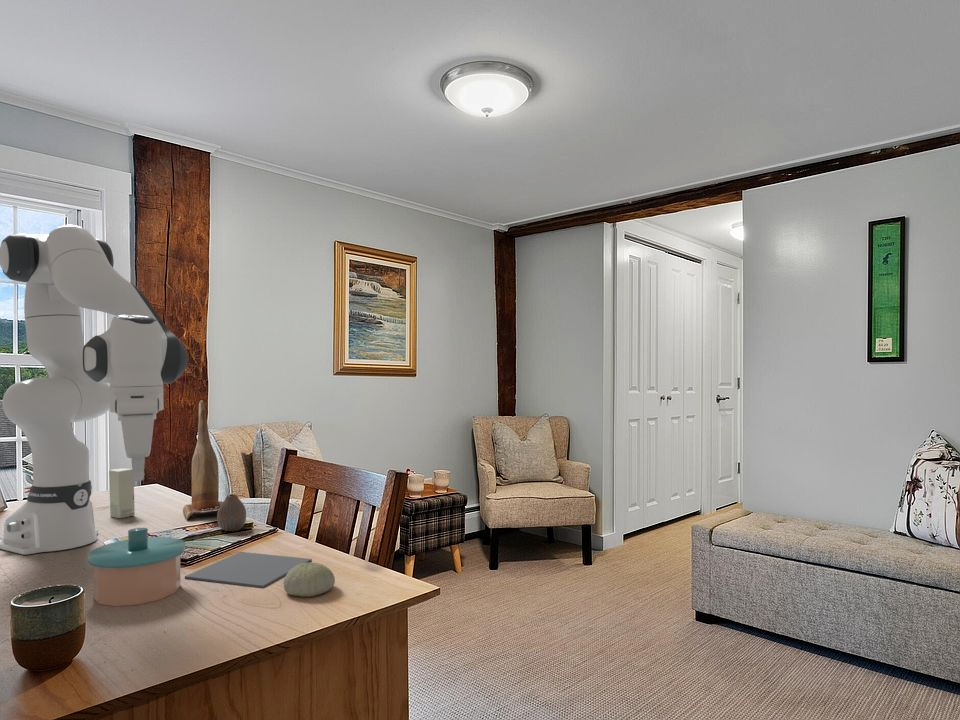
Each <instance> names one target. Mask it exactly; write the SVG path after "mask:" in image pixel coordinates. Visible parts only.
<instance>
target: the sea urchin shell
mask: <svg viewBox="0 0 960 720" xmlns="http://www.w3.org/2000/svg"><path fill="white" fill-rule="evenodd" d="M335 583H336V579H335V575H334V574H333V571H332V570H331V569H330V568H329V567H327V566H326V565H324V564H323V563H318V562H312V561H310V562H309V563H301V564H298V565H296V566H294V567H293V568H292V569H291V570H290V571H289V572H288V573H287V575H285V576H284V580H283V589H284V591H285V592H286V594H288V595H290V596H295V597H302V598H305V597H307V598H311V596H312V597H315V596H321V594H324V593H327V592H328V591H331V589H332V588H333V586H335Z"/></svg>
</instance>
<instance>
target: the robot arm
mask: <svg viewBox="0 0 960 720" xmlns="http://www.w3.org/2000/svg"><path fill="white" fill-rule="evenodd" d="M0 243H1V244H0V268H1V269H2V273H3V274H4V275H5V276H6V277H7V278H8V279H9V280H11V281H15V282H21V283H25V289H24V298H23V299H24V301H23V302H24V305H23V307H24V309H23V310H24V311H23V312H24V323H25V335H26V336H25V337H26V342H27V343H26V345H27V351H28V354H30V356H31V357H32V358H34V359H36V360H37V361H38V362H40V363H41V365H42V366H43V367H44V369H45V370H46V373H47V375H48V377H34V378H30V379H25V380H22V381H18V382H15V383H14V384H11V385H10V386H9V387H8V388H7V389H6V391H5V392H4V394H3V397H2V410H3V412H4V415H5V417H6V418H7V419H8V420H9V421H10V422H11V423H12V424H14V425H15V426H17V427H18V428H19V429H20V430H21V431H22V433H23V434H24V436H25V438H26V440H27V443H28V444H29V448H30V453H31V456H32V457H31V459H32V485H31V486H28V487H24V490H25V491H24V492H23V493H24V494H28V495H27V498H26V502H24V504H22V505H21V506H20V507H19V508H18V509H16V510H15V511H14V512H12V513H11V514H10V515H9V516H8V517H7V518H6V519H5V521H4V524H3V526H4V527H3V536H1V537H0V550H4V551H8V552H12V553H15V554H20V555H32V554H39V553H44V552H45V553H47V552H57V551H62V550H63V551H64V550H69V549H75V548H79V547H83V546H86V545H89V544H92V543H93V542H96V541H97V539H98V534H99V529H98V528H96V524H95V514H94V506H93V502H92V500H91V496H92V489H93V488H92V487H93V485H92V481H91V479H90V451H89V448H88V446H87V445H86V444H85V443H83V442H82V441H80V440H79V439H77V437H76V435H75V433H74V431H73V430H74V429H73V427H72V424H73V423H80V422H87V421H90V420H92V419H93V420H94V419H96V418H98V417H100V416H103V415H105V414H106V413H108V411H109V412H110V413H113V414H116V415H117V421H118V422H120V424H121V430H122V437H123V444H124V446H123V447H124V451H125V455H126V458H128V459H130V460H131V467H132V468H131V469H132V471H133V480H134V482H141V481H143V480H144V479H145V466H146V463H145V462H146V458H147V457H149V456H150V455H151V454H150V453H151V450H152V442H153V432H154V422H155V420H157V414H158V413H159V412H160V411H163V410H164V409H165V407H164V402H165V401H164V384H167V385H168V384H169V385H170V384H172V383H173V382H175V381H177V379H179V378H180V377H181V376H182V375H183V373H184V372H185V371H186V370H187V367H188V361H189V360H188V358H189V357H188V352H187V349H186V346H185V345H184V343H183V342H182V341H181V339H179V338H178V337H177V336H176V334H174V333H173V332H172V331H171V330H170V329H169V328H168V326H167V325H166V324H165V322H164V321H163V319H162V318H161V316H160V315H159V314H158V312H157V311H156V309H154V307H153V306H152V304H151V302H150V301H149V300H148V298H147V297H146V296H145V294H144V293H143V292H142V290H141V289H140V288H139V287H138V286H136V285H134V283H132V282H130V281H128V280H127V279H126V278H125V277H123V275H121V274H120V273H119V272H118V271H117V270H115V268H114V262H115V260H114V255H113V250H112V249H111V246H110V245H109V244H108V242H106V241H104V240H101V239H99V238H96V237H94V235H92V233H90V231H88V229H85V228H83V227H81V226H78V225H75V224H74V225H73V224H65V225H62V226H58V227H56V228H54V229H53V230H51V231H50V232H49V234H44V233H43V234H40V233H39V234H27V233H16V234H10V235H7V236H6V237H5V238H4V239H2V241H1V242H0ZM80 308H83V309H87V310H91V311H92V310H93V311H97V312H101V313H105V314H109V315H113V318H112V319H111V321H110V322H111V323H110V326H109V328H108V329H107V330H106V331H104V332H103V333H101V334H98V335H95V336H93V337H92V338H90V339H89V340H87V342H86V343H85V341H84V335H83V324H82V315H81V309H80Z"/></svg>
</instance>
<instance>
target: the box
mask: <svg viewBox="0 0 960 720" xmlns="http://www.w3.org/2000/svg"><path fill="white" fill-rule="evenodd" d="M108 477H109V515H110V517H111V518H116V519H124V518H129V517H132V516H135V515H136V514H135V481H134V480H133V471H132V468H126V467H123V468H115V469H110V470H109V473H108Z"/></svg>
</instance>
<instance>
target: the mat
mask: <svg viewBox="0 0 960 720" xmlns="http://www.w3.org/2000/svg"><path fill="white" fill-rule="evenodd" d="M310 562H313V561H312V558H307V557H306V558H305V557H304V558H303V557H296V556H295V557H294V556H284V555H276V554H267V553H266V554H265V553H256V552H247V551H239V552H237V553H235V554H231V555H229V556H227V557H225V558H223V559H221V560H219V561H216V562H214V563H212V564H209V565H207V566H204V567H203V568H200V569H198V570H196V571H194V572H191V573H189V574H187V575H184V579H186V580H195V581H203V582H204V581H205V582H213V583H221V584H229V585H236V586H237V585H238V586H244V587H245V586H246V587H255V588H262V589H263V588H265V587H267V586H269V585H271V584H273V583H275V582H276V581H278V580H280V579H281V578H283V577H286V575H287V573H288V572H289V571H290V570H291V569H292V568H293V567H294V566H296V565H298V564H301V563H310Z"/></svg>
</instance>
